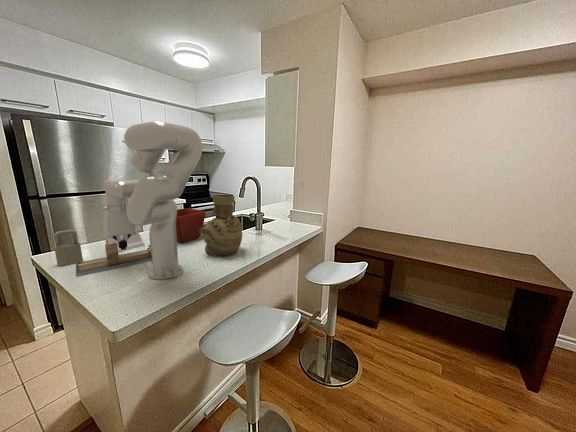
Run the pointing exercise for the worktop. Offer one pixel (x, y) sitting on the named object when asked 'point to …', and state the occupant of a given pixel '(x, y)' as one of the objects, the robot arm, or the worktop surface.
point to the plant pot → (188, 224)
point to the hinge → (128, 242)
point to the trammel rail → (121, 259)
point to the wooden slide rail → (112, 266)
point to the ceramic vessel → (222, 228)
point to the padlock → (67, 250)
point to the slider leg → (112, 253)
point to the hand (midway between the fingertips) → (123, 249)
